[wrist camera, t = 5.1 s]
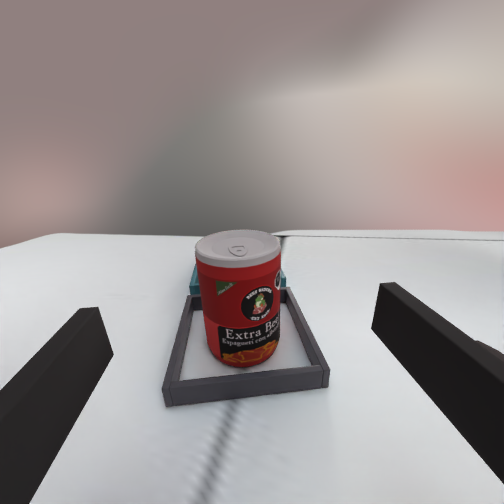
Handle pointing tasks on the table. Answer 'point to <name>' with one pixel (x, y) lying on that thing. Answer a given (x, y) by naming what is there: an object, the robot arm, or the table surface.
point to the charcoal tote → (247, 382)
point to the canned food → (240, 294)
